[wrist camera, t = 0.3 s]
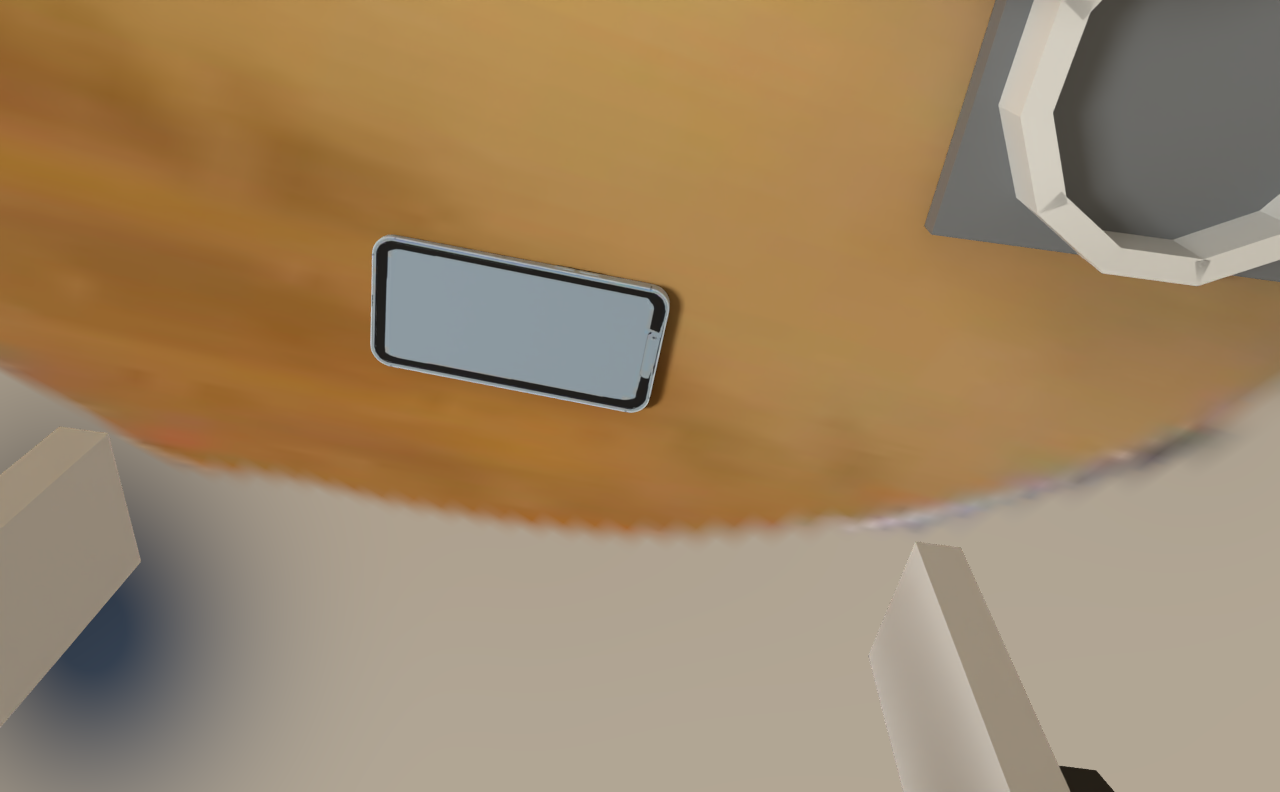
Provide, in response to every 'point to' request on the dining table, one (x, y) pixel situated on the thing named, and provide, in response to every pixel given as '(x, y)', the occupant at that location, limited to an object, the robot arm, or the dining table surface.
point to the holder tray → (1123, 137)
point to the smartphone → (516, 323)
